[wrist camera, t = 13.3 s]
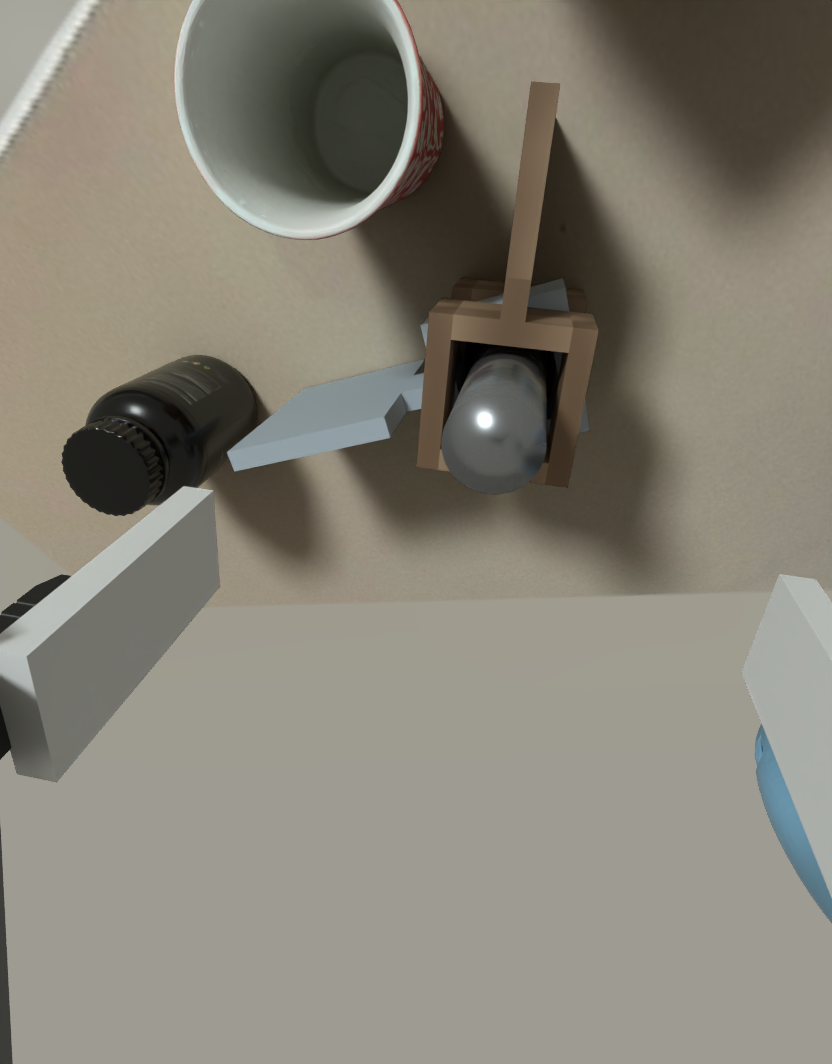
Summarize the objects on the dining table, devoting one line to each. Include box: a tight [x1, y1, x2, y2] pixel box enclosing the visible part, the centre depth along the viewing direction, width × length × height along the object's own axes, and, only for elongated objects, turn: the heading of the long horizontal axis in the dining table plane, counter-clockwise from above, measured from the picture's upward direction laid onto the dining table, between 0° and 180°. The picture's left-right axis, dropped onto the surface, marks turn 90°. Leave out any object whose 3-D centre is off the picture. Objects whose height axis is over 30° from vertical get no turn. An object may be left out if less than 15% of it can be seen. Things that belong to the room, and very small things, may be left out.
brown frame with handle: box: [416, 82, 599, 488], centre depth 32 cm, size 7×15×12 cm, turn 176°
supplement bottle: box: [62, 355, 257, 516], centre depth 39 cm, size 7×7×12 cm
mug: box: [174, 0, 444, 240], centre depth 29 cm, size 13×9×14 cm
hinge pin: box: [441, 343, 546, 494], centre depth 31 cm, size 4×4×18 cm
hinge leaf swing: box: [227, 279, 590, 471], centre depth 35 cm, size 17×7×12 cm, turn 106°
